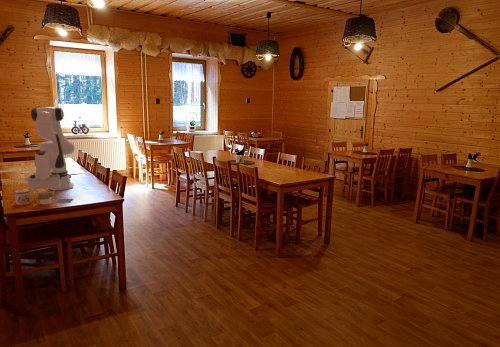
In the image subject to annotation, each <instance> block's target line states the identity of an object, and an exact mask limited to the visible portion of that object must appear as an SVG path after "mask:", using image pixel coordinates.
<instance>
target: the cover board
mask: <svg viewBox="0 0 500 347" xmlns="http://www.w3.org/2000/svg"><path fill="white" fill-rule="evenodd" d="M51 192H52V191H42V192H39V195H37V197H38V200H40V199H49V198H50V197H51V198H52V197H53V194H51Z"/></svg>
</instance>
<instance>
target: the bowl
mask: <svg viewBox="0 0 500 347" xmlns="http://www.w3.org/2000/svg"><path fill="white" fill-rule="evenodd" d="M39 202H40V203H39V204H41V205H49V204H51V203H53V202H52V196H51V197H50V198H49V199H39Z"/></svg>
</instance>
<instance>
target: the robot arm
mask: <svg viewBox="0 0 500 347" xmlns="http://www.w3.org/2000/svg"><path fill="white" fill-rule="evenodd" d="M64 117H65V112H64V110H63V109H62V108H61V107H59V106H46V107H45V106H41V107H33V108H32V109H31V111H30V118H31V120H32V121H34V122H35V133H36V135H37V136H39V138H41V139H44V140H46V141H43V142H41V143H40V144H39V151H37V152H35V154H34V155H35V156H34V166H35V168H36V169H35V173H31V174H29V175H28V180H27V188H28V190H33V191H34V192H35V194H36V195H37V196H38V195H39V194H40V191H38V189H48V190H51V191H50V192H51V194H52V195H54V194H55V191H66V190H71V189H74V183H72V182H71V178H70V177H69V176H68V175H69V174H68V170H67V163H66V159H65V156H68V155H72V154H73V153H74V152H75V145H74V143H73V142H72V141H69V140H68V139H67V138H66V136H65V135H64V133H63V131H62V125H61V121H62V120H64Z"/></svg>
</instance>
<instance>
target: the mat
mask: <svg viewBox="0 0 500 347" xmlns="http://www.w3.org/2000/svg"><path fill="white" fill-rule="evenodd" d="M73 201H74V198H59V199H57V200H56V201H55V204H71V203H72V202H73Z"/></svg>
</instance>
